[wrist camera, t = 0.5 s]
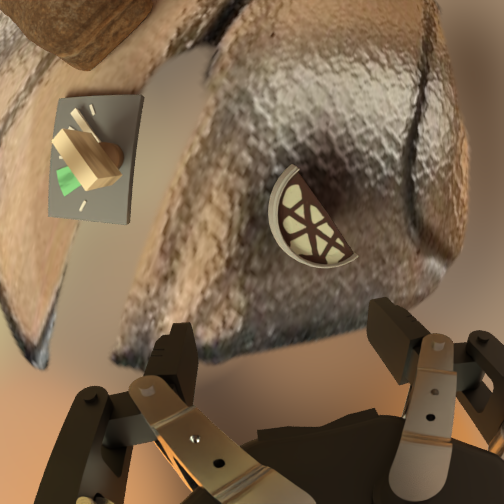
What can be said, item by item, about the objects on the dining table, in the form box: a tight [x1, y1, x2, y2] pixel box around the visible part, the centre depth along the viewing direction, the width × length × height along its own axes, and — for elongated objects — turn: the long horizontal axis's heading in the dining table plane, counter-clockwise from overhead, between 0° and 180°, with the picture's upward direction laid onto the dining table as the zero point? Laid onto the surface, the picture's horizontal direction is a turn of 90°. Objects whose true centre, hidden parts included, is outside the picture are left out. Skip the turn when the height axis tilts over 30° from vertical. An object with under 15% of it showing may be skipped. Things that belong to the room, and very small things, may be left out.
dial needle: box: [51, 108, 124, 191], centre depth 28 cm, size 12×4×10 cm, turn 37°
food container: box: [268, 164, 359, 268], centre depth 34 cm, size 12×6×10 cm, turn 38°
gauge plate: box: [48, 95, 144, 225], centre depth 34 cm, size 13×17×2 cm
